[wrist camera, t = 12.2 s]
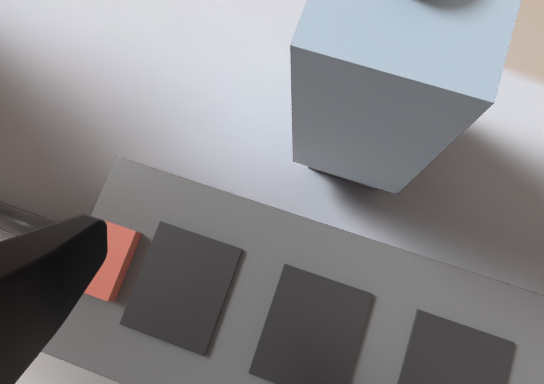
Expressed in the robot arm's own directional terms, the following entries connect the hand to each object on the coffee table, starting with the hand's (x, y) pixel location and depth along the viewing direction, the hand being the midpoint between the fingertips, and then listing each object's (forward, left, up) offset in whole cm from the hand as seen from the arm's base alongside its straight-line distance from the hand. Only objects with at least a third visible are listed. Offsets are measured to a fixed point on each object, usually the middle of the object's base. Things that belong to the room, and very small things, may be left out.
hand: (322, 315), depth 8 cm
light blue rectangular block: (+3, -6, -9) cm, 12 cm away
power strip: (-1, +1, -9) cm, 9 cm away
